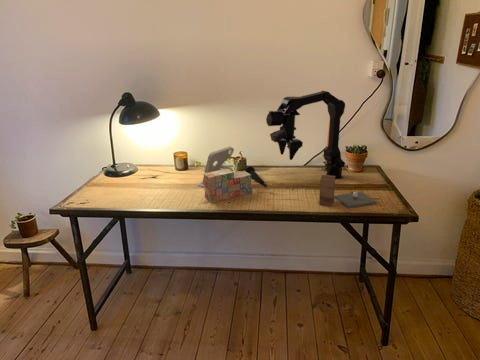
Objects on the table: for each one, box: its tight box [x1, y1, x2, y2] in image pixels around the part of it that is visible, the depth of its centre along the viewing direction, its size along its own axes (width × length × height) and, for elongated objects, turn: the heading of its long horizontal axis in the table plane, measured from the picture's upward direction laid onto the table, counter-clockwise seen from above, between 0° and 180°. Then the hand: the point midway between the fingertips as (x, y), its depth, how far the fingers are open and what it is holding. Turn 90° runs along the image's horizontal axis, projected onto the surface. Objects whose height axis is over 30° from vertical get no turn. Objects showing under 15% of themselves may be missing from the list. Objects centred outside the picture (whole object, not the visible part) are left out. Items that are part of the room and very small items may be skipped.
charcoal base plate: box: [334, 191, 378, 209], centre depth 177 cm, size 14×12×1 cm
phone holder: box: [197, 146, 234, 189], centre depth 199 cm, size 17×10×18 cm, turn 139°
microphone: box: [244, 165, 267, 187], centre depth 203 cm, size 6×6×20 cm
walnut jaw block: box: [318, 174, 336, 207], centre depth 173 cm, size 6×6×12 cm
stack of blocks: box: [203, 169, 253, 203], centre depth 184 cm, size 21×6×12 cm, turn 118°
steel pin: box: [352, 190, 359, 199], centre depth 176 cm, size 2×2×4 cm
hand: (286, 157), depth 191 cm, fingers open, 9 cm apart
